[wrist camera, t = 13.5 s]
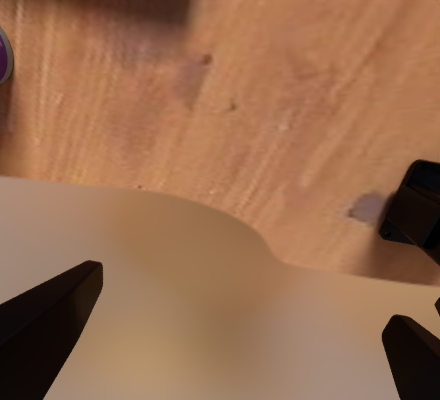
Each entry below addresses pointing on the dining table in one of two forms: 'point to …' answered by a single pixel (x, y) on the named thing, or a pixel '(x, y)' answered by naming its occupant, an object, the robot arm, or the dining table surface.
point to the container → (5, 57)
